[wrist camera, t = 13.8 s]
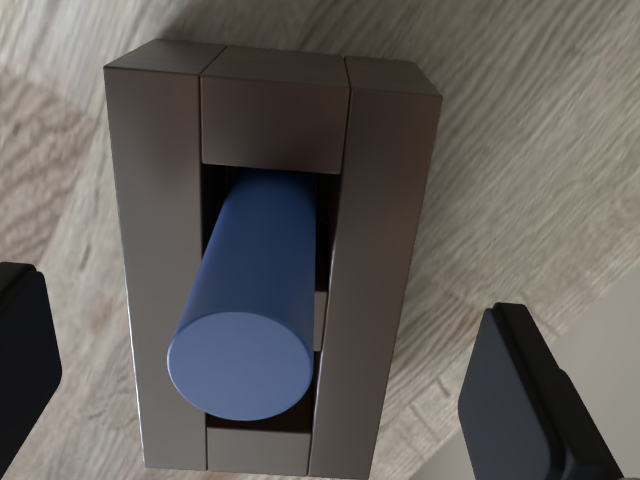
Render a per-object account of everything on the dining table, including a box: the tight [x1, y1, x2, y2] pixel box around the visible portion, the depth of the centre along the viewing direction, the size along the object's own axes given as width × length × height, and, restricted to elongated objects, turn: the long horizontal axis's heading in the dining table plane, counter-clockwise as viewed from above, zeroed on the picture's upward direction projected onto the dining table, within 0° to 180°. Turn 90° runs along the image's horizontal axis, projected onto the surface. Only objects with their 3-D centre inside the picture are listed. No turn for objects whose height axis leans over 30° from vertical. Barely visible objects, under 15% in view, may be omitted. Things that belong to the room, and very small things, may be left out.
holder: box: [103, 38, 443, 480], centre depth 20 cm, size 9×16×5 cm, turn 175°
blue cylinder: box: [167, 166, 317, 421], centre depth 16 cm, size 3×3×11 cm
